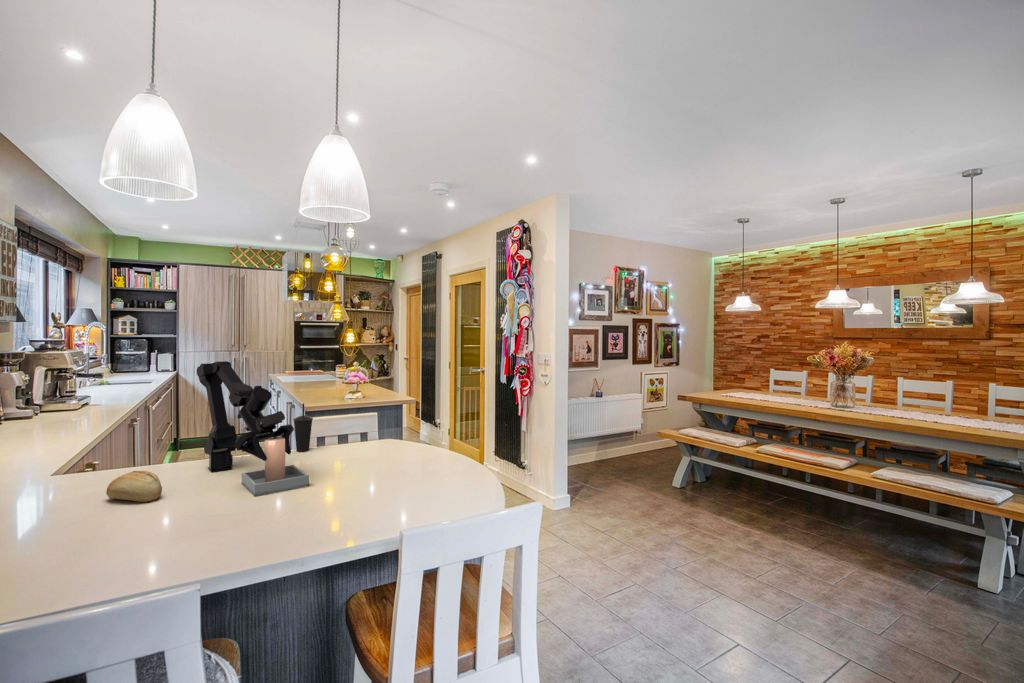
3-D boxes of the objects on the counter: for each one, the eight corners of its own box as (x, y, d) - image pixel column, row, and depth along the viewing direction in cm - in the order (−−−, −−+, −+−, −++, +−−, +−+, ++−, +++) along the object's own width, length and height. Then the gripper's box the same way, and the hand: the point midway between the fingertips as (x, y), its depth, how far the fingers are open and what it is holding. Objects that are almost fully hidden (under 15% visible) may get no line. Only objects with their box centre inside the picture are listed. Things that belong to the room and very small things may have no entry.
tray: (254, 496, 143) (254, 485, 143) (241, 483, 155) (241, 473, 155) (308, 486, 154) (309, 475, 154) (293, 474, 166) (293, 464, 166)
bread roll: (125, 493, 144) (125, 467, 144) (172, 494, 143) (172, 468, 143) (95, 504, 135) (96, 476, 134) (146, 506, 134) (146, 478, 134)
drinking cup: (288, 452, 197) (289, 404, 197) (301, 448, 204) (302, 401, 204) (303, 453, 195) (304, 405, 195) (316, 449, 202) (317, 402, 202)
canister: (263, 485, 151) (262, 442, 150) (266, 480, 156) (266, 438, 156) (283, 484, 152) (283, 440, 152) (286, 478, 158) (286, 437, 158)
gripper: (241, 408, 147) (266, 447, 143) (290, 400, 164) (314, 435, 160) (223, 430, 150) (247, 469, 146) (274, 421, 167) (296, 456, 163)
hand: (278, 456), depth 154 cm, fingers open, 9 cm apart
